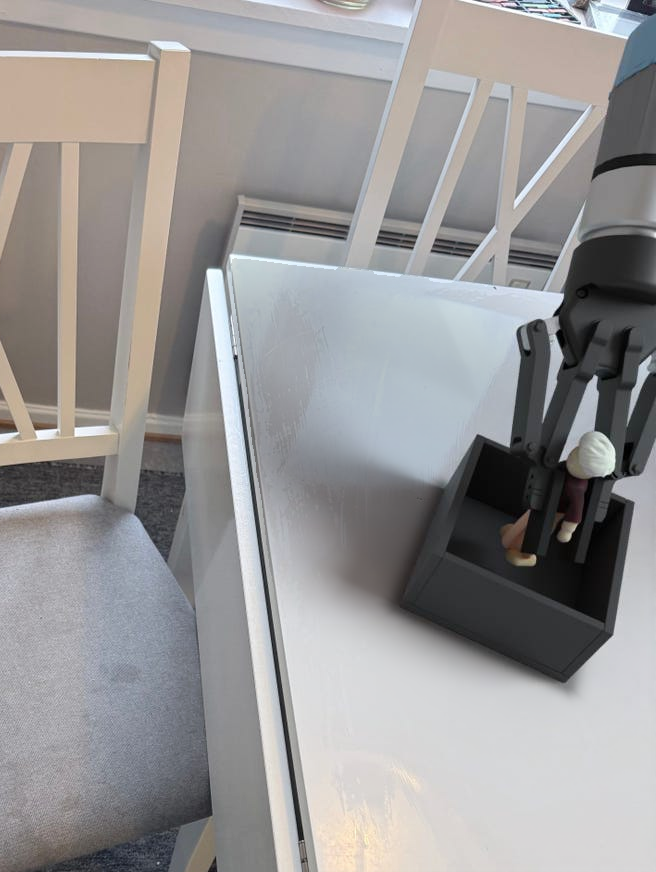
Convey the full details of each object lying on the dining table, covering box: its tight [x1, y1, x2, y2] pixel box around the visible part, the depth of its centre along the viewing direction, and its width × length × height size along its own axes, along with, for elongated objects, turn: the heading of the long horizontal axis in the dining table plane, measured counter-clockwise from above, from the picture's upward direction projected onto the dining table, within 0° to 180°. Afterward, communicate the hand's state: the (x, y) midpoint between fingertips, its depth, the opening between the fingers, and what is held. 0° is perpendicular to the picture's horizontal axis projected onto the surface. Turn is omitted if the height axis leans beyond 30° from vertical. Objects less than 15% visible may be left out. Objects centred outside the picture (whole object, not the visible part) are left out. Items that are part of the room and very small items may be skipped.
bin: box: [399, 433, 636, 683], centre depth 73 cm, size 15×17×7 cm
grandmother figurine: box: [500, 430, 615, 566], centre depth 68 cm, size 8×4×13 cm, turn 5°
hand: (551, 557), depth 68 cm, fingers closed on grandmother figurine, 2 cm apart
